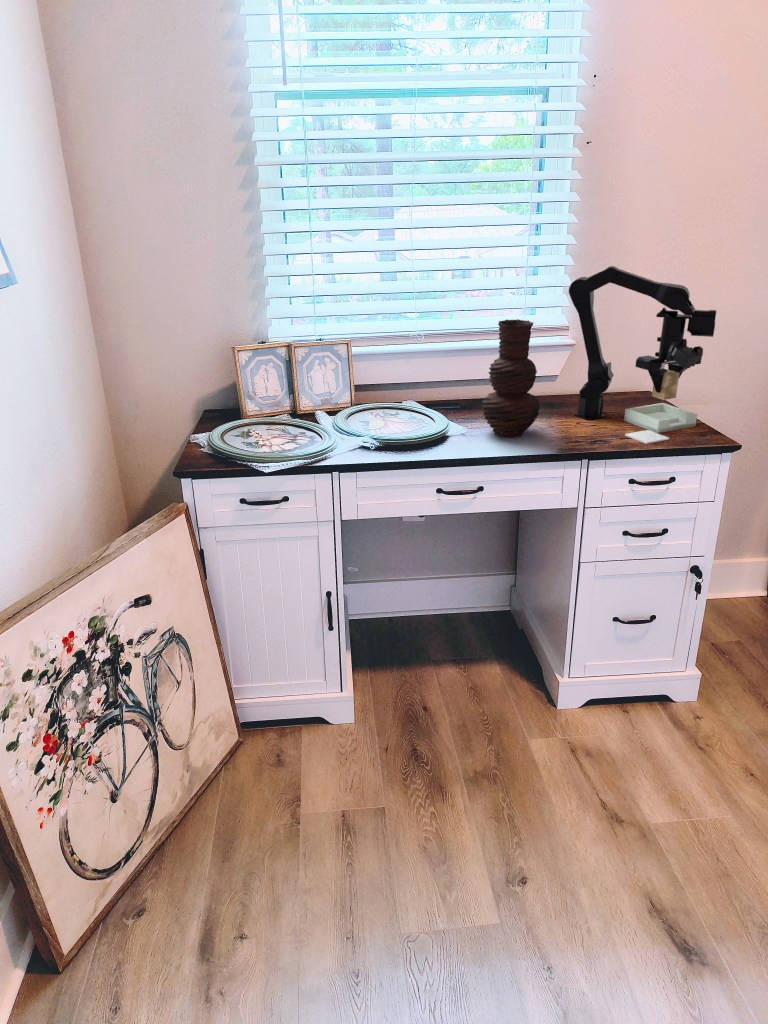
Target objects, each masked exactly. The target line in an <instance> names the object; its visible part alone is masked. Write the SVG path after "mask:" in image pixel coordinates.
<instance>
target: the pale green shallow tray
mask: <svg viewBox="0 0 768 1024" xmlns="http://www.w3.org/2000/svg"><path fill="white" fill-rule="evenodd" d="M697 417H698V414H697V413H695V412H692V411H689V410H686V409H683V408H679V407H677V406H674V405H671V404H668V403H666V402H665V403H664V402H660V403H653V404H649V405H648V404H647V405H642V406H635V407H630V408H625V410H624V418H623V421H624V422H627V423H629V424H631V425H635V426H637V427H638V428H639V427H640V428H641V429H645V430H650V431H652V432H655V433H657V434H660V433H666V432H673V431H676V430H683V429H688V428H693V427H696V425H697Z"/></svg>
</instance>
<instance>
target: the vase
mask: <svg viewBox="0 0 768 1024" xmlns="http://www.w3.org/2000/svg"><path fill="white" fill-rule="evenodd" d="M497 325H498V327H499V328H498V330H499V333H498V336H499V337H498V339H499V340H500V341H499V342H498V344H499V346H498V348H499V350H498V353H499V355H498V356H499V357H497V359H494V361H493V363H491V364H490V367H488V370H490V371H488V374H489V379H490V380H489V383H490V384H491V385H490V386H491V387H492V390H493V392H490V393H488V395H487V396H485V397H484V400H482V401H481V403H482V409H481V411H482V413H483V414H482V415H483V416H484V420H486V423H487V424H488V425H489V427H490V428H492V431H493V432H494V435H495V436H497V437H500V438H507V439H514V438H519V437H521V438H522V437H523V435H524V434H525V433H526V431H527V430H529V428H530V427H531V426H532V425H533V423H534V422H535V421H536V419H537V418H538V416H539V411H540V407H541V406H540V404H539V402H540V401H539V399H538V398H537V397H536V396H535V395H533V394H532V393H529V392H530V391H531V390H532V388H533V387H534V385H535V384H534V383H535V381H536V379H537V376H536V374H537V372H538V370H537V367H536V365H535V363H534V361H533V360H531V359H529V358H528V357H529V353H530V352H529V351H530V345H529V344H530V342H531V336H532V327H533V326H534V322H531V321H530V320H523V319H505V320H498V324H497Z"/></svg>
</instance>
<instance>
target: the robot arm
mask: <svg viewBox="0 0 768 1024" xmlns="http://www.w3.org/2000/svg"><path fill="white" fill-rule="evenodd" d="M608 284H613V285H615V286H616V285H617V286H619V287H622V288H625V289H628V290H631V291H633V292H636V293H639V294H641V295H645V296H648V297H650V298H652V299H654V300H655V301H657V302H658V303H659V304H661V305H663V306H665V307H663V308H661V310H660V311H658V312H657V313H656V316H655V317H656V318H662V319H663V320H662V326H661V334H660V336H657V337H656V342H659V349H658V351H656V352H655V354H654V356H651V355H643V356H641V355H640V356H638V357H637V358H636V360H635V365H634V367H635V368H639V369H642V370H645V371H648V374H649V377H650V378H651V379H650V380H651V381H652V385H653V384H654V387H655V390H656V392H658V393H659V392H660V390H661V386H662V380H663V375H664V374H665V373H666V372H667V371H668V370H671V371H674V372H678V373H679V379H680V378H681V376H682V375H683V373H684V371H687V370H688V369H690V368H691V367H695V366H696V365H701V363H702V360H703V356H704V355H703V354H704V348H703V347H702V346H700V345H698V346H694V347H689V346H687V345H688V341H687V338H684V336H685V331H686V332H688V334H690V336H692V337H694V336H695V337H709V338H714V334H715V328H716V317H717V310H716V309H709V310H708V309H707V310H705V309H704V310H703V309H696V308H695V306H694V305H693V303H692V301H691V300H690V296H691V295H690V291H689V289H688V287H686V286H685V285H681V284H678V283H677V284H676V283H675V284H674V283H671V282H670V283H669V282H668V283H667V282H661V281H660V282H659V281H655V280H652V279H650V278H646V277H645V276H644V277H643V276H641V275H637V274H635V273H632V272H628V271H626V270H623V269H620V268H618V267H616V266H615V265H610V266H608V267H606V268H605V269H603V270H601V271H599V272H597V273H595V274H593V275H591V276H589V277H587V276H580V277H578V278H576V279H575V280H574V281H573V282H571V283H570V285H569V287H568V294H569V297H570V299H571V302H572V304H573V307H574V308H575V310H576V312H577V313H578V317H579V324H580V328H581V332H582V337H583V342H584V348H585V352H586V357H587V361H588V364H587V365H588V366H587V381H586V382H585V383H584V384H583V386H582V387H581V389H580V390H579V392H578V393H579V395H578V405H577V412H574V413H573V415H574V416H576V417H579V418H581V419H584V420H587V421H590V420H596V419H602V418H605V417H606V415H604V414H603V408H604V395H603V393H604V392H606V391H607V390H608V388H609V387H610V386H611V383H612V380H613V377H614V376H615V374H614V373H613V371H612V362H611V361H610V362H606V361H605V359H604V357H603V351H602V347H601V341H600V336H599V331H598V326H597V321H596V317H595V311H594V301H595V291H597V290H598V289H600V288H602V287H604V286H605V285H608ZM666 307H667V308H668V309H670V310H667V308H666ZM679 312H680V313H682V314H680V313H679ZM687 319H688V323H687V322H686V321H687ZM686 323H687V329H685V327H686ZM666 365H667V369H666V368H665V367H666Z"/></svg>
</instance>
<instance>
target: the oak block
mask: <svg viewBox="0 0 768 1024" xmlns="http://www.w3.org/2000/svg"><path fill="white" fill-rule="evenodd" d="M667 370H668V369H667ZM679 379H680V378H679V373H678V372H674V371H671V370H668V371H667V372H666V373H665V374H664V375H663V380H662V386H661V390H660V392H659V393H658V392H656V390H655V387H654V384H653V383H652V390H651V391H652V392H651V397H654V398H657V399H660V400H663V401H664V400H672V399H676V398H677V393H678V386H679Z"/></svg>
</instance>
